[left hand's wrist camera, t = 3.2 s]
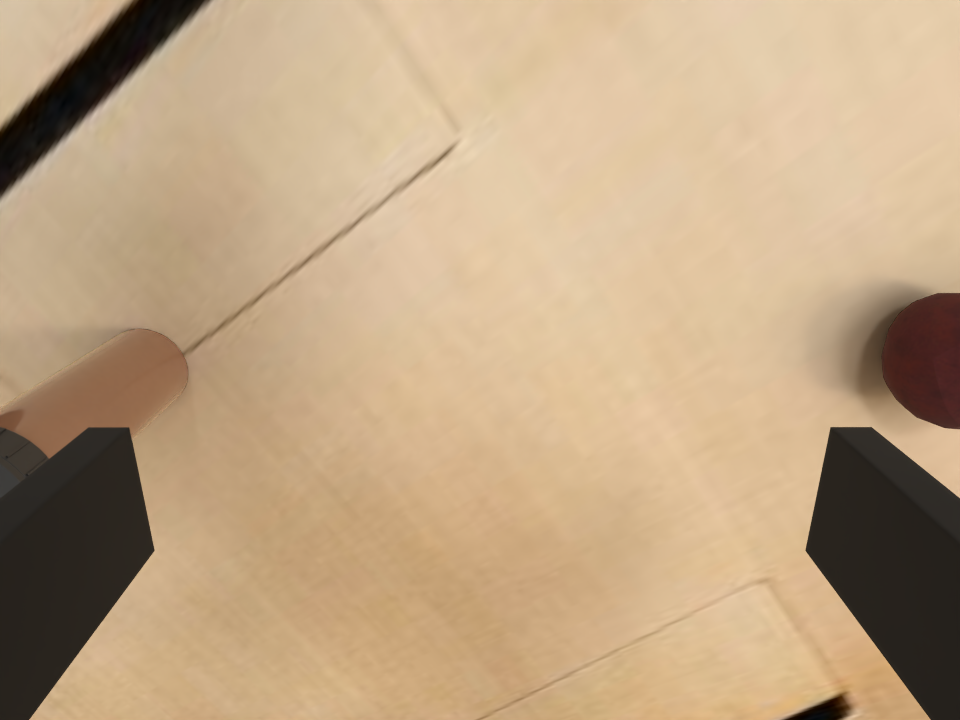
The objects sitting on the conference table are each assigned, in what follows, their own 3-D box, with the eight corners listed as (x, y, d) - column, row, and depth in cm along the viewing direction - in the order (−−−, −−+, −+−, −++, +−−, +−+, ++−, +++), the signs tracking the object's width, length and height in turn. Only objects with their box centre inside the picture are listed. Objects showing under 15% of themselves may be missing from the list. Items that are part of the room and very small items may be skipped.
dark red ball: (884, 416, 43) (958, 472, 36) (836, 320, 41) (905, 360, 34) (996, 356, 41) (1094, 403, 35) (953, 253, 39) (1049, 283, 33)
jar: (145, 312, 41) (-42, 424, 26) (205, 375, 42) (61, 514, 28) (87, 359, 42) (-123, 492, 27) (148, 420, 43) (-20, 576, 29)
